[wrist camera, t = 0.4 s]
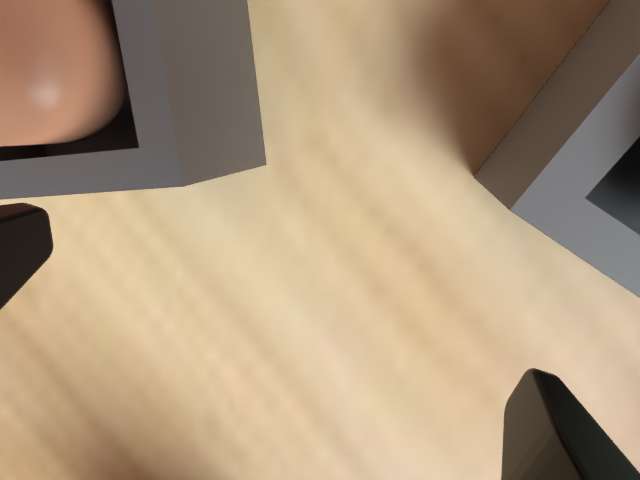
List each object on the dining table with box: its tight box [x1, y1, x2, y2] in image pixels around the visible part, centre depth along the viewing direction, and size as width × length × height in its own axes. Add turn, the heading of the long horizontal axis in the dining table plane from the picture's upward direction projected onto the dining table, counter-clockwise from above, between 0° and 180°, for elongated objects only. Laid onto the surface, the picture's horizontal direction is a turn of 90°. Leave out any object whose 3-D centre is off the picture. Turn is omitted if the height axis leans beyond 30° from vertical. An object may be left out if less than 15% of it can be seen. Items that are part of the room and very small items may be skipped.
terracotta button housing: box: [0, 0, 266, 199], centre depth 17 cm, size 9×9×8 cm
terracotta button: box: [0, 0, 128, 146], centre depth 13 cm, size 6×6×3 cm
